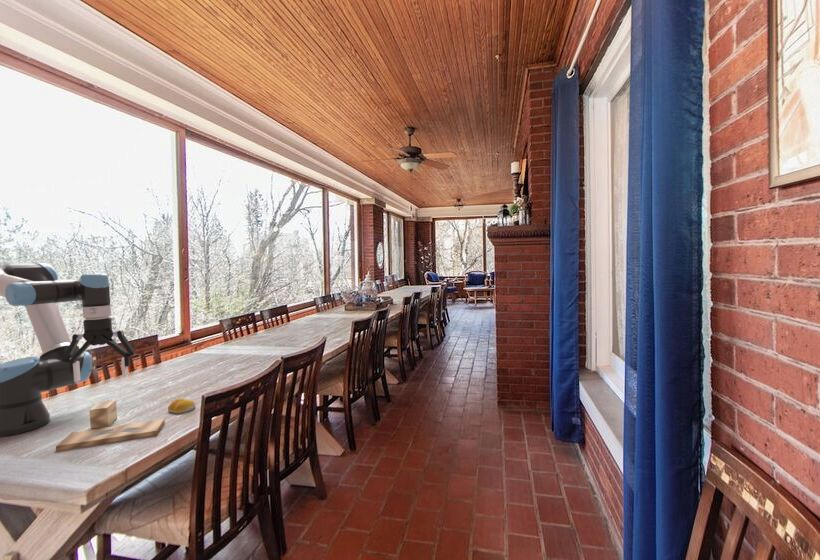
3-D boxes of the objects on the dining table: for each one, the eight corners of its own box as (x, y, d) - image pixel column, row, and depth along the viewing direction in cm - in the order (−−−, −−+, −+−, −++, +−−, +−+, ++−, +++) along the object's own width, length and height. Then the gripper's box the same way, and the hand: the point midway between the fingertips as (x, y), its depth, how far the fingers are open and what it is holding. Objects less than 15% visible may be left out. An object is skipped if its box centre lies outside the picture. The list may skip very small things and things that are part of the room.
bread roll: (181, 415, 140) (180, 404, 140) (164, 412, 143) (163, 402, 143) (200, 407, 147) (200, 397, 147) (184, 404, 151) (183, 394, 150)
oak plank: (56, 451, 114) (55, 445, 114) (72, 436, 124) (71, 432, 124) (157, 435, 123) (156, 430, 123) (164, 422, 133) (164, 418, 133)
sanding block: (90, 430, 129) (89, 409, 128) (100, 421, 136) (99, 401, 136) (108, 427, 130) (107, 407, 130) (117, 418, 138) (115, 399, 138)
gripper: (45, 322, 123) (50, 386, 125) (136, 316, 132) (140, 376, 133) (57, 319, 130) (62, 380, 132) (143, 314, 139) (146, 371, 140)
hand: (101, 378), depth 132 cm, fingers open, 13 cm apart
